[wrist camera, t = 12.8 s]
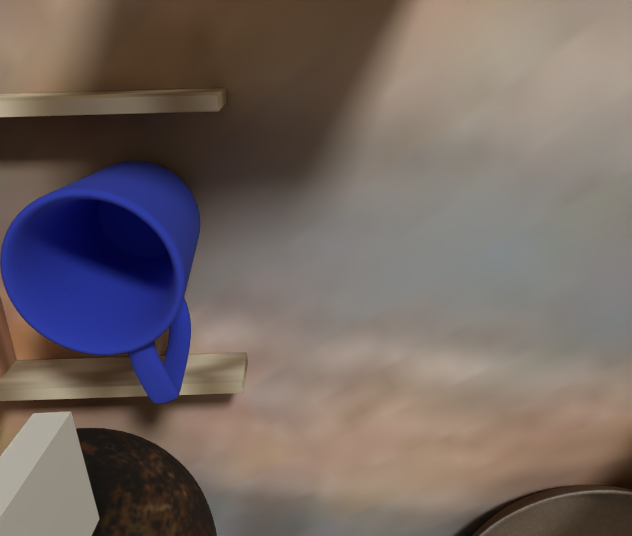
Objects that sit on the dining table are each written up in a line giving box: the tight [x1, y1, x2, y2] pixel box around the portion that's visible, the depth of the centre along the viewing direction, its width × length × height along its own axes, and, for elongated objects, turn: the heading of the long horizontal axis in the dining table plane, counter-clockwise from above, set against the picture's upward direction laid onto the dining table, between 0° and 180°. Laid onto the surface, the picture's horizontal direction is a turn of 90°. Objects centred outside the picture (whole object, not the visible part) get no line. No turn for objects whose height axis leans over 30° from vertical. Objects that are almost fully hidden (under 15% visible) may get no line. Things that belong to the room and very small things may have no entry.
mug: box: [0, 161, 200, 404], centre depth 32 cm, size 8×12×10 cm
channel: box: [0, 88, 248, 401], centre depth 33 cm, size 17×18×6 cm
